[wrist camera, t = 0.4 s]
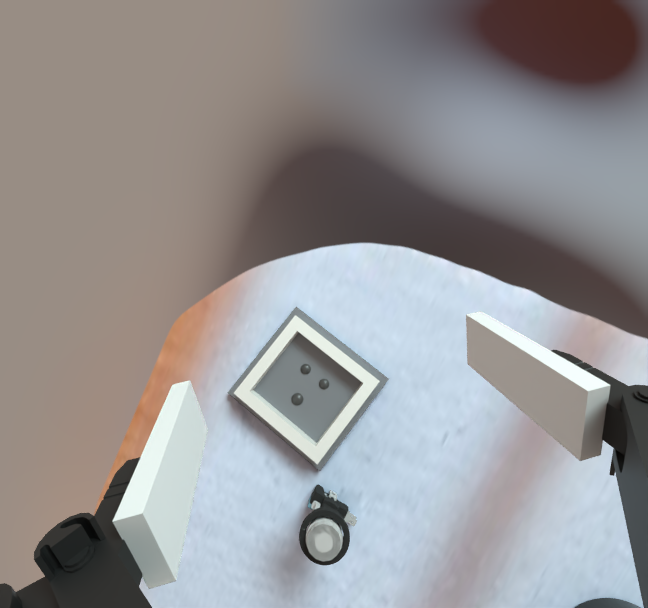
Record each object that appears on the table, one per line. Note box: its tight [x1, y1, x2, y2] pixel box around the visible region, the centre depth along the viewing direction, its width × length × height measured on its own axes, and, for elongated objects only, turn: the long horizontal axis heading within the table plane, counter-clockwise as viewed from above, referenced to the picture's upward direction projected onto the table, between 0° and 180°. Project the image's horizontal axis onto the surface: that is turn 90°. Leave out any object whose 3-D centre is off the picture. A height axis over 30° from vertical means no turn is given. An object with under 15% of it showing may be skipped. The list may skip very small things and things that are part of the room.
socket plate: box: [228, 307, 388, 471], centre depth 46 cm, size 16×15×3 cm
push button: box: [299, 485, 357, 565], centre depth 40 cm, size 7×5×10 cm
